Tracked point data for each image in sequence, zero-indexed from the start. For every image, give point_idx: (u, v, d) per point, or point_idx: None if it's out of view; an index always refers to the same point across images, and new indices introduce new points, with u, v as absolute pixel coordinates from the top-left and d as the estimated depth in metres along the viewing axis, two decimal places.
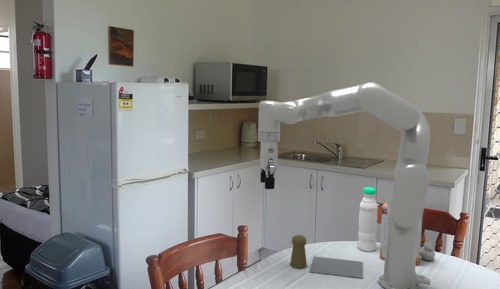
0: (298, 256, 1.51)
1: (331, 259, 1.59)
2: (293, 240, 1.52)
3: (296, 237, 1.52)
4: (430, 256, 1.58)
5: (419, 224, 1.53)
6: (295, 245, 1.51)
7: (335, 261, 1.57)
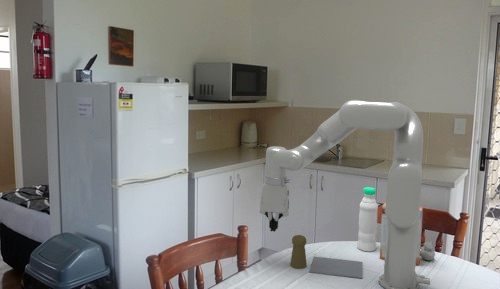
0: (298, 256, 1.51)
1: (331, 259, 1.59)
2: (293, 240, 1.52)
3: (296, 237, 1.52)
4: (430, 256, 1.58)
5: (419, 224, 1.53)
6: (295, 245, 1.51)
7: (335, 261, 1.57)
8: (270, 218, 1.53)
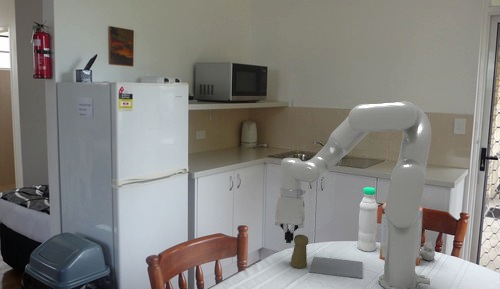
0: (299, 255, 1.51)
1: (331, 259, 1.59)
2: (295, 239, 1.52)
3: (298, 236, 1.52)
4: (430, 256, 1.58)
5: (419, 224, 1.53)
6: (297, 244, 1.51)
7: (335, 261, 1.57)
8: (286, 230, 1.52)
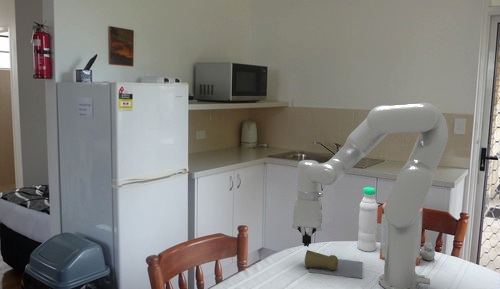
0: (317, 264, 1.49)
1: None
2: (333, 260, 1.47)
3: (336, 262, 1.48)
4: (430, 256, 1.58)
5: (419, 224, 1.53)
6: (328, 262, 1.48)
7: None
8: (303, 233, 1.51)
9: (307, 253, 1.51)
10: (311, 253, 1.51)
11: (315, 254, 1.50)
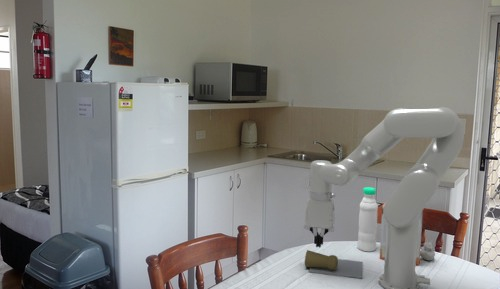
0: (317, 264, 1.49)
1: None
2: (333, 260, 1.47)
3: (336, 262, 1.48)
4: (430, 256, 1.58)
5: (419, 224, 1.53)
6: (328, 262, 1.48)
7: None
8: (315, 234, 1.50)
9: (307, 253, 1.51)
10: (311, 253, 1.51)
11: (315, 254, 1.51)
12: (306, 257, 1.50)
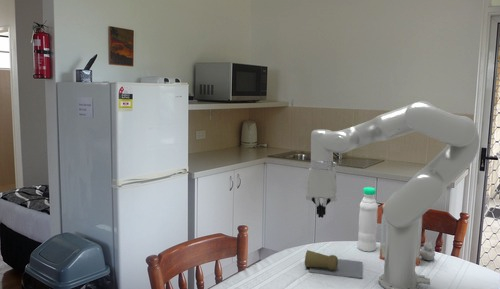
0: (317, 264, 1.49)
1: None
2: (333, 260, 1.47)
3: (336, 262, 1.48)
4: (430, 256, 1.58)
5: (419, 224, 1.53)
6: (328, 262, 1.48)
7: None
8: (317, 204, 1.48)
9: (307, 253, 1.51)
10: (311, 253, 1.51)
11: (315, 254, 1.51)
12: (306, 257, 1.50)
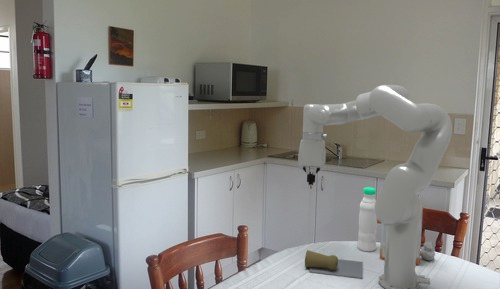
0: (317, 264, 1.49)
1: None
2: (333, 260, 1.47)
3: (336, 262, 1.48)
4: (430, 256, 1.58)
5: (419, 224, 1.53)
6: (328, 262, 1.48)
7: None
8: (308, 172, 1.62)
9: (307, 253, 1.51)
10: (311, 253, 1.51)
11: (315, 254, 1.51)
12: (306, 257, 1.50)
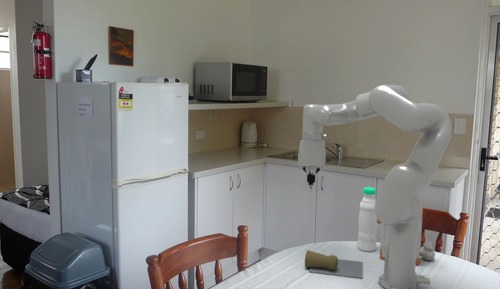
0: (317, 264, 1.49)
1: None
2: (333, 260, 1.47)
3: (336, 262, 1.48)
4: (430, 256, 1.58)
5: (419, 224, 1.53)
6: (328, 262, 1.48)
7: None
8: (308, 172, 1.62)
9: (307, 253, 1.51)
10: (311, 253, 1.51)
11: (315, 254, 1.51)
12: (306, 257, 1.50)
